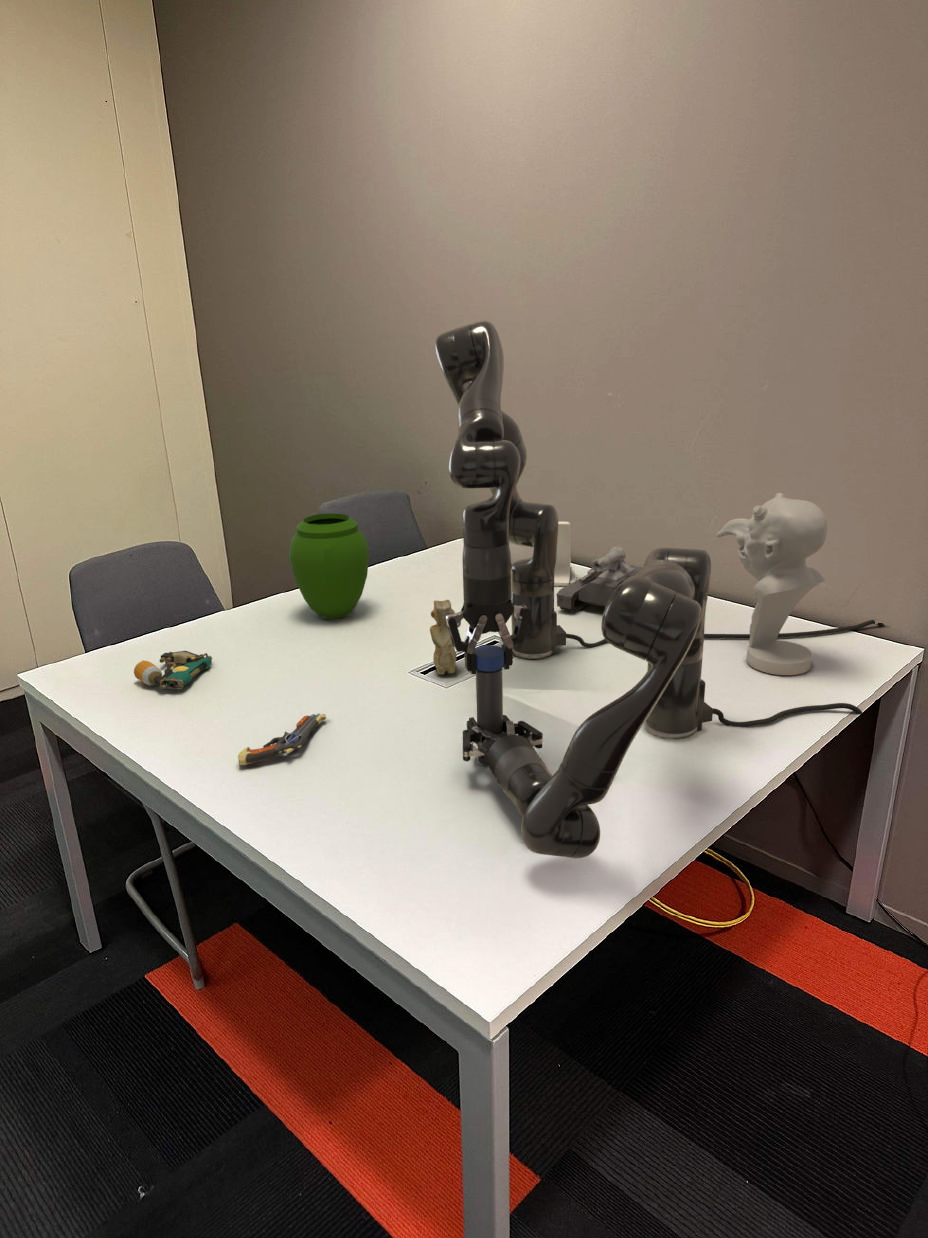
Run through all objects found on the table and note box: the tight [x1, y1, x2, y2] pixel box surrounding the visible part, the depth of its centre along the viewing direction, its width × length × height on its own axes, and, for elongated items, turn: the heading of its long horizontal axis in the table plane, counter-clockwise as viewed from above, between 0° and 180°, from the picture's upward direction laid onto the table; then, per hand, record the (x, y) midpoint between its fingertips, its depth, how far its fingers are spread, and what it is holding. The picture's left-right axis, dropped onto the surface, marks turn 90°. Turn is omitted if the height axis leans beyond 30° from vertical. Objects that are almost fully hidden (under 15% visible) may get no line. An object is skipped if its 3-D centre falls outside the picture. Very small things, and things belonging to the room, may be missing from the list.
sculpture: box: [429, 599, 457, 675], centre depth 177 cm, size 6×7×15 cm
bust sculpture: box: [716, 492, 828, 676], centre depth 176 cm, size 16×24×35 cm
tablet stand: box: [509, 521, 572, 587], centre depth 236 cm, size 18×25×17 cm
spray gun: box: [133, 650, 213, 690], centre depth 180 cm, size 4×17×15 cm
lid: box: [474, 644, 505, 671], centre depth 138 cm, size 5×5×2 cm
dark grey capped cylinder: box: [475, 668, 504, 767], centre depth 141 cm, size 4×4×19 cm
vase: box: [288, 512, 370, 620], centre depth 209 cm, size 20×20×24 cm
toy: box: [556, 546, 643, 613], centre depth 212 cm, size 25×20×15 cm
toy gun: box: [237, 713, 327, 766], centre depth 151 cm, size 3×19×10 cm
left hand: (488, 669), depth 139 cm, fingers closed on lid, 5 cm apart
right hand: (485, 720), depth 145 cm, fingers closed on dark grey capped cylinder, 4 cm apart
